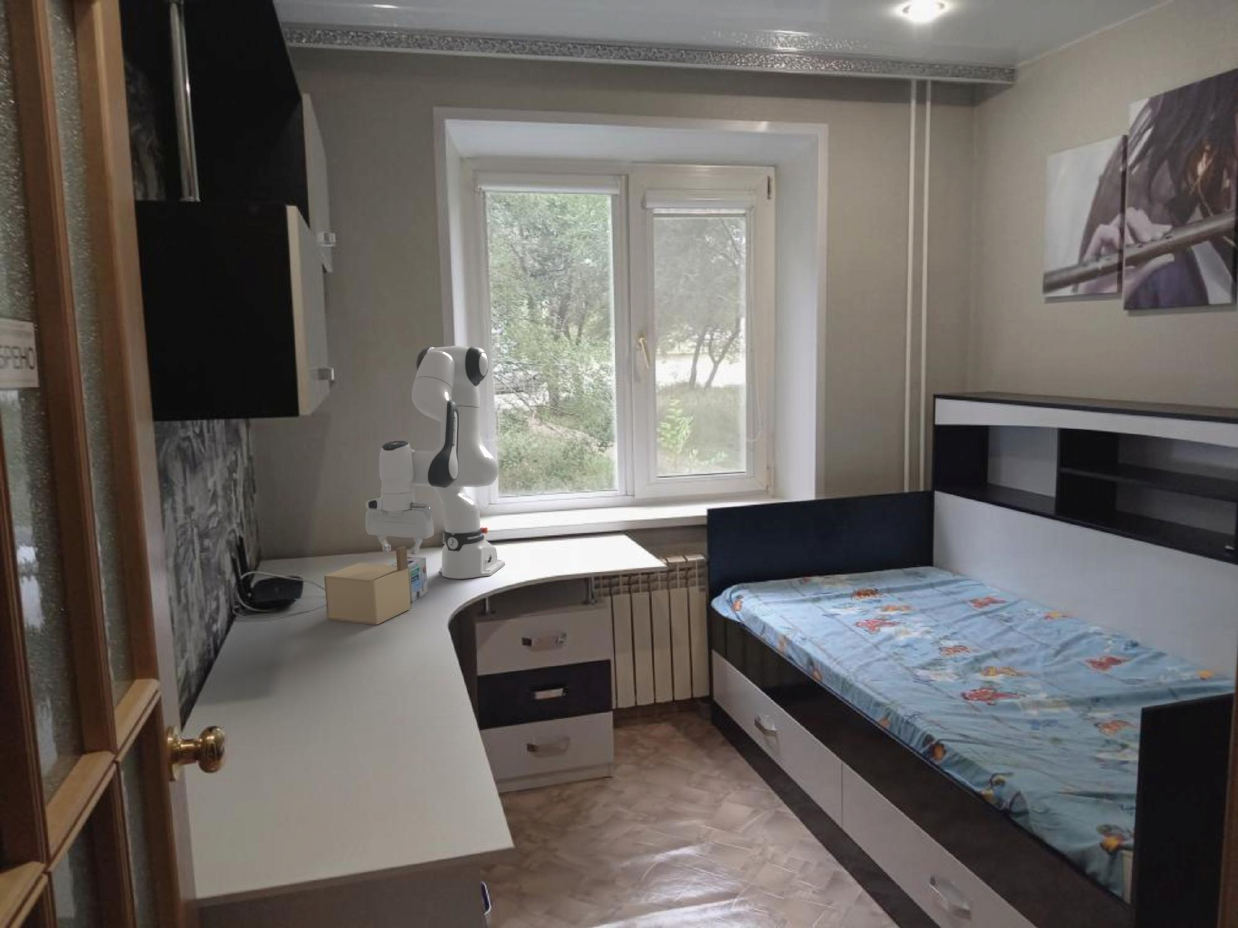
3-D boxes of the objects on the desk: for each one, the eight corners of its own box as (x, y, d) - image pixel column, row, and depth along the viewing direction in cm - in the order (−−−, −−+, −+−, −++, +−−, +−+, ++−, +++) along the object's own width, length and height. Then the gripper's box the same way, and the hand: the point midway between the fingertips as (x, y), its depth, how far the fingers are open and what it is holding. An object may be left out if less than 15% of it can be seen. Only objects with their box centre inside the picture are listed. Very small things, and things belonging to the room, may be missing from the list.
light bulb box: (412, 603, 240) (410, 566, 239) (390, 602, 241) (388, 565, 240) (428, 592, 250) (426, 556, 249) (407, 591, 252) (405, 556, 250)
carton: (362, 603, 240) (359, 562, 239) (408, 609, 234) (406, 567, 232) (327, 618, 228) (324, 575, 226) (375, 625, 221) (372, 580, 220)
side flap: (407, 608, 234) (404, 545, 232) (411, 608, 234) (407, 546, 231) (374, 623, 221) (370, 558, 219) (378, 624, 221) (373, 558, 218)
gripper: (437, 502, 227) (440, 552, 228) (375, 498, 235) (378, 547, 236) (423, 505, 221) (425, 557, 223) (360, 502, 229) (363, 552, 231)
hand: (401, 552), depth 230 cm, fingers open, 8 cm apart
